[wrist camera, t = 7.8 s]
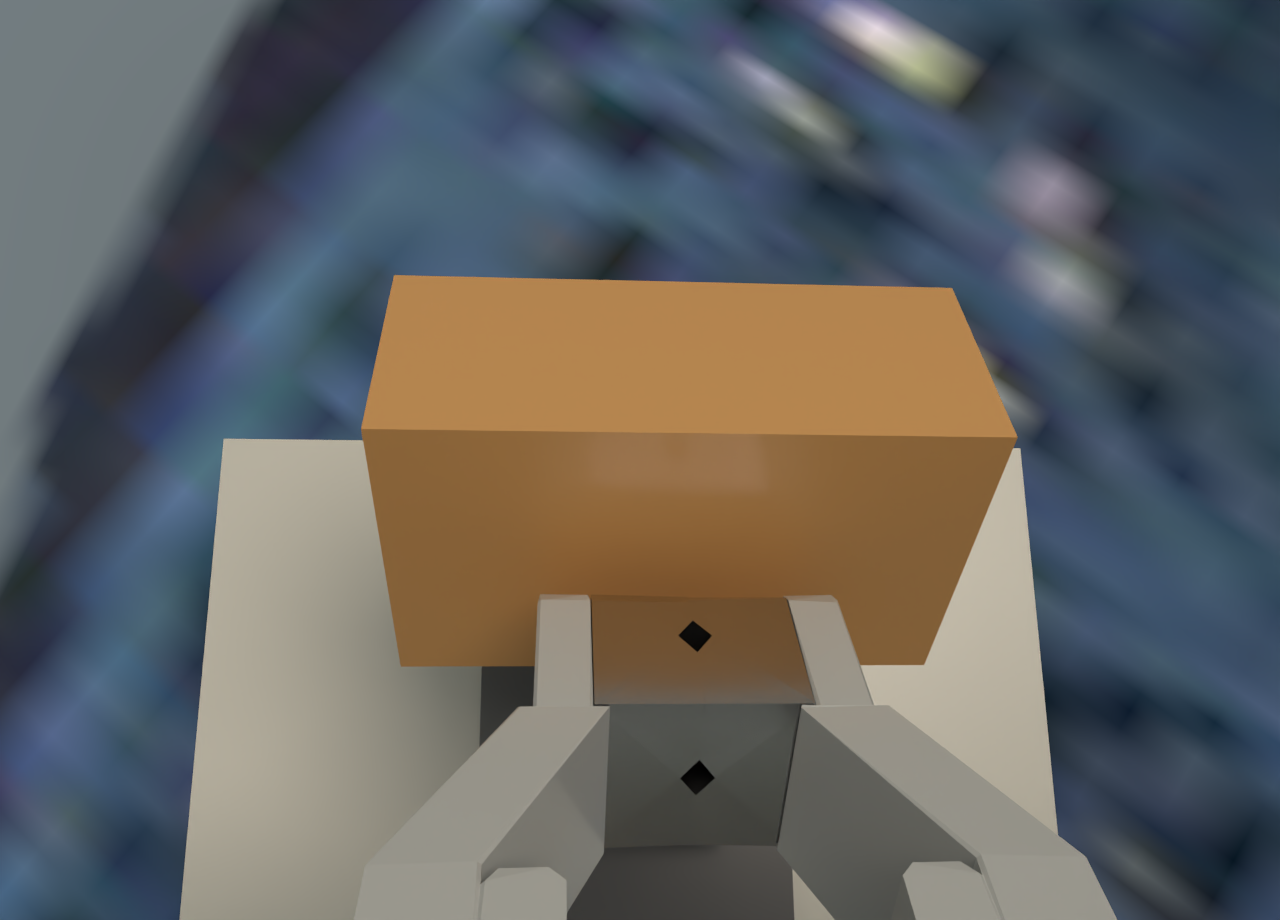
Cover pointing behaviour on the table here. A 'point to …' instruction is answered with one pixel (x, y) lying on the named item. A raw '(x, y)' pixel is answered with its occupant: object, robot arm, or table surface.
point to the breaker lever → (674, 453)
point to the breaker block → (495, 709)
